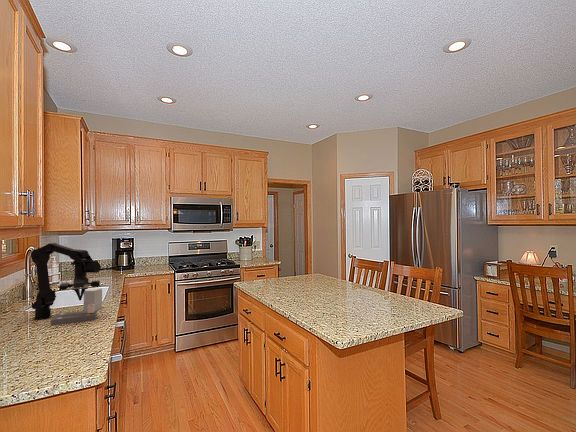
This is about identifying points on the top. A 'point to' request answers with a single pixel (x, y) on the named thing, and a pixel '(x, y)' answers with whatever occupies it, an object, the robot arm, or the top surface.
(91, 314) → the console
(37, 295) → the robot arm
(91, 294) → the supplement box
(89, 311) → the fader
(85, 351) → the top surface
